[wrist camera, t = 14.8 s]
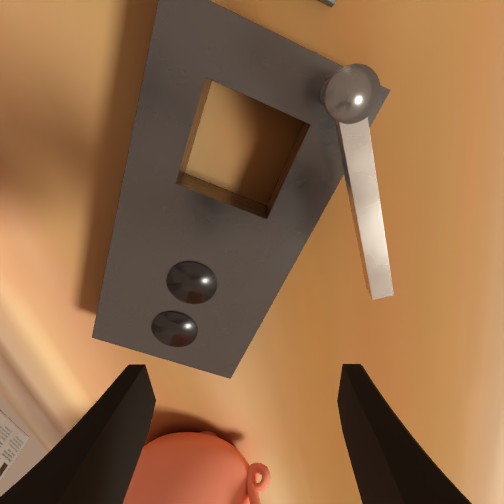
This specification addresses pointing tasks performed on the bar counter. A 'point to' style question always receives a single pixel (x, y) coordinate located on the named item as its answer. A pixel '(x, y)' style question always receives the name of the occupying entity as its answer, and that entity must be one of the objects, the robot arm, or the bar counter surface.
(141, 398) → the robot arm
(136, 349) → the grey lever panel
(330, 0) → the mat
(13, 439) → the coffee box
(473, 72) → the bar counter surface
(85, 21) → the bar counter surface
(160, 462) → the sugar bowl
